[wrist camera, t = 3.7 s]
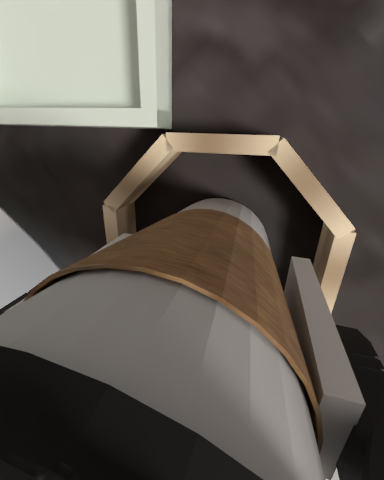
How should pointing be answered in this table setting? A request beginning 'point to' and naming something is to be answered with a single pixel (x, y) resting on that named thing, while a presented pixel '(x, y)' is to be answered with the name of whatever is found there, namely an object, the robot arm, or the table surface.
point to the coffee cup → (160, 362)
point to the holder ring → (172, 144)
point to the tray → (86, 63)
